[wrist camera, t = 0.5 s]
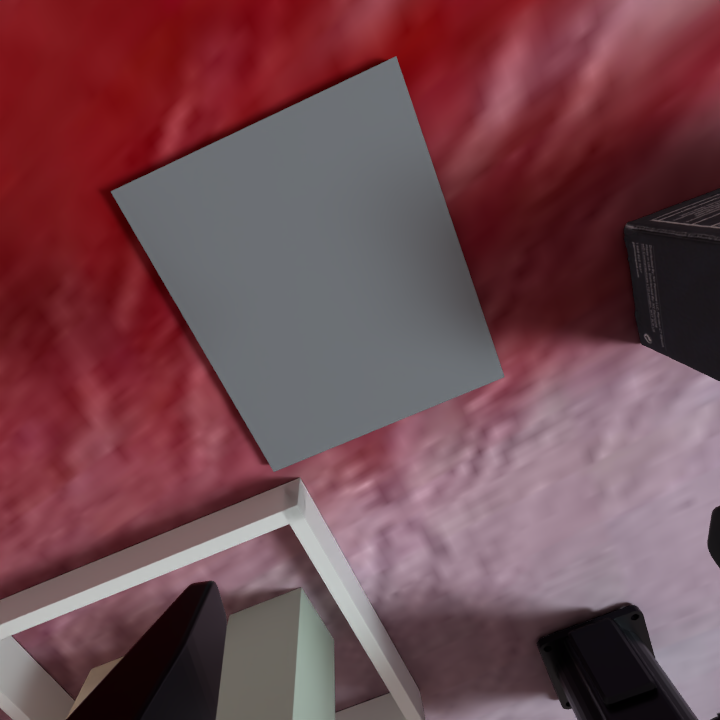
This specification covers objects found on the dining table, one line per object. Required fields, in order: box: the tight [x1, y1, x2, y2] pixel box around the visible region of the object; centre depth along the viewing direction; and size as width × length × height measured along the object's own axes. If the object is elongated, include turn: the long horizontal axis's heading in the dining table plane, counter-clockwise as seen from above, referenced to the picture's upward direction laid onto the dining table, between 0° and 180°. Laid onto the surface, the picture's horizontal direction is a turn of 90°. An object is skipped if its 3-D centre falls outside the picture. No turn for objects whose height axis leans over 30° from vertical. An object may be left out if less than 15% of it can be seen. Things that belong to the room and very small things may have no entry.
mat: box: [111, 57, 504, 472], centre depth 20 cm, size 14×12×1 cm
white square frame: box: [0, 478, 425, 720], centre depth 26 cm, size 18×20×2 cm
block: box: [216, 588, 335, 720], centre depth 24 cm, size 4×4×7 cm
